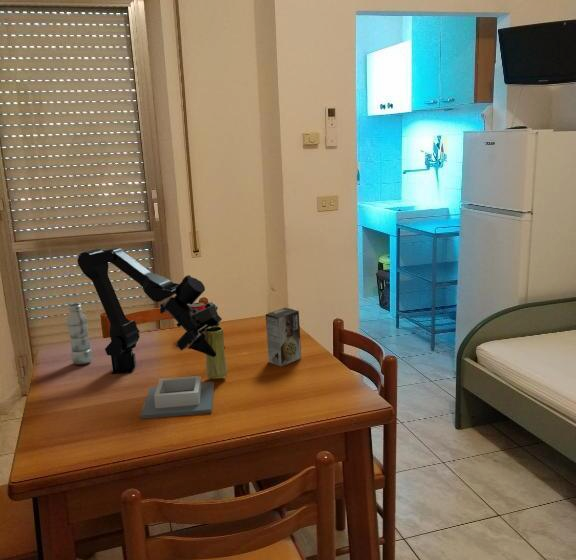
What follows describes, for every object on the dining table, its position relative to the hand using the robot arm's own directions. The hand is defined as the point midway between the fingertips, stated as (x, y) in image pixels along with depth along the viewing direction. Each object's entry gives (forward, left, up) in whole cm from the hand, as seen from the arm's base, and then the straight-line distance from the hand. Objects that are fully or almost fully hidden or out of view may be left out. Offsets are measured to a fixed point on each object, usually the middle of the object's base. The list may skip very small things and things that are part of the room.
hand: (219, 352), depth 163 cm
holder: (-11, -13, -8) cm, 19 cm away
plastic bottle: (-46, +23, -9) cm, 53 cm away
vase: (-1, +1, -7) cm, 7 cm away
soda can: (-9, +43, -9) cm, 45 cm away
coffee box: (+20, +11, -9) cm, 25 cm away
